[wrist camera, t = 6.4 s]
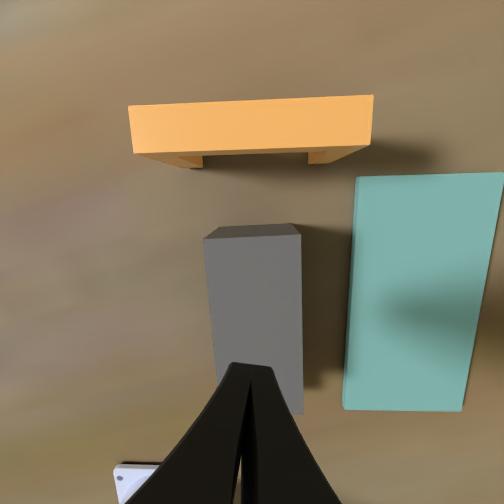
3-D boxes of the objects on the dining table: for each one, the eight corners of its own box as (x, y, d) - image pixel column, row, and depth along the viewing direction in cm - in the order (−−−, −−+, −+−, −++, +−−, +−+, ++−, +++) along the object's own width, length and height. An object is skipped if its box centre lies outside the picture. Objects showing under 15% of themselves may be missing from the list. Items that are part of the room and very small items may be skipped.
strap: (328, 163, 15) (370, 144, 9) (183, 168, 15) (133, 153, 10) (330, 133, 15) (373, 94, 9) (180, 139, 15) (127, 105, 9)
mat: (454, 404, 19) (460, 411, 18) (342, 402, 19) (344, 409, 18) (496, 172, 15) (505, 172, 14) (356, 177, 15) (359, 176, 15)
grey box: (294, 379, 19) (304, 437, 14) (232, 381, 19) (223, 438, 15) (291, 222, 16) (300, 234, 12) (219, 226, 17) (202, 239, 12)
